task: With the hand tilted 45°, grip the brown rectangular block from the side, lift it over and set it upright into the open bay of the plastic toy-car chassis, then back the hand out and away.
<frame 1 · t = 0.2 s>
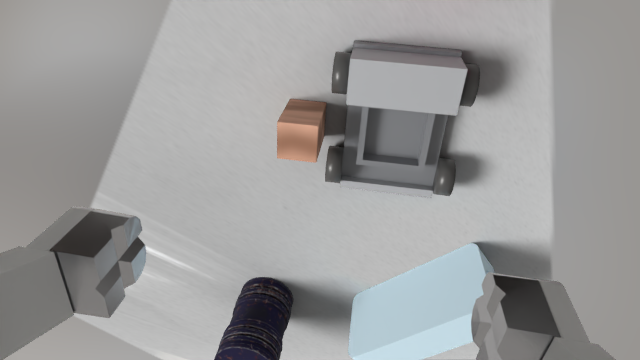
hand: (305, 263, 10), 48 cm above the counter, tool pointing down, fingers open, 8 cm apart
light blue box: (418, 278, 73), on the counter
storage jar: (267, 296, 80), on the counter
brown rectangular block: (307, 117, 60), on the counter
chassis: (395, 120, 59), on the counter
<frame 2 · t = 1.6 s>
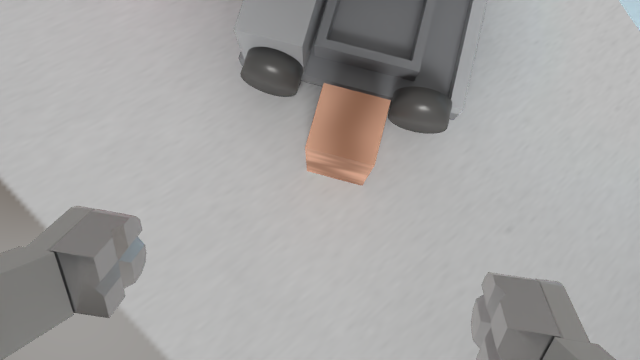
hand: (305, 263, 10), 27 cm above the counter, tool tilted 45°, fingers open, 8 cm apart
brown rectangular block: (341, 151, 39), on the counter
chassis: (363, 29, 41), on the counter
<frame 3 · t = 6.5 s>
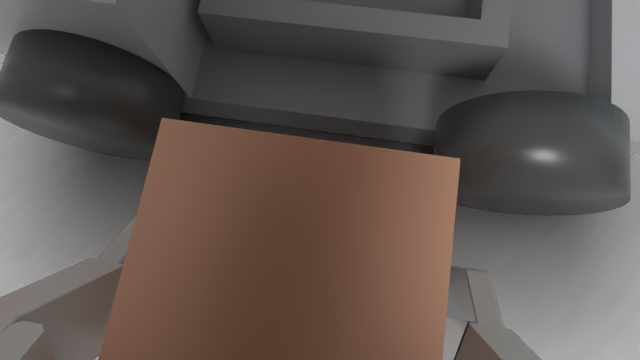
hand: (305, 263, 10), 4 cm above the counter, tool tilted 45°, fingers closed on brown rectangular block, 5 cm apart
brown rectangular block: (313, 289, 14), on the counter, touching gripper
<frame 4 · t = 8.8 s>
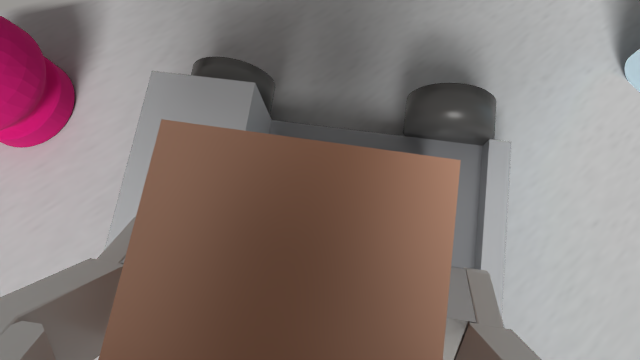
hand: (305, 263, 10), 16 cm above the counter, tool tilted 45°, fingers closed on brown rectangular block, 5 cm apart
pepper mill: (33, 106, 30), on the counter
brown rectangular block: (313, 290, 14), point 12 cm above the counter, touching gripper
chassis: (320, 236, 26), on the counter
when the fingers open (7 cm above the counter, at t = 11.3 s): brown rectangular block drops 1 cm, resting on chassis.
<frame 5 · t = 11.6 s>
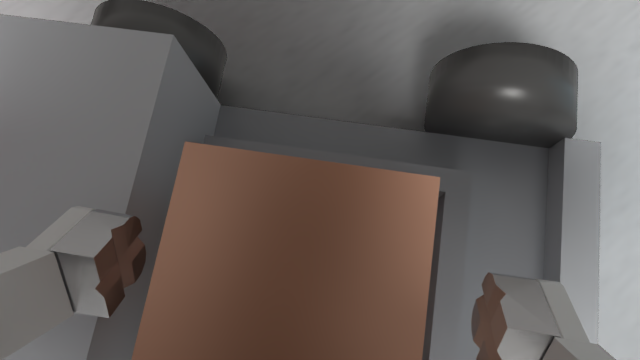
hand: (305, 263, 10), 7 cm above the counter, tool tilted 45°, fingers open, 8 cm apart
brown rectangular block: (314, 289, 16), point 1 cm above the counter, touching chassis
chassis: (294, 285, 17), on the counter
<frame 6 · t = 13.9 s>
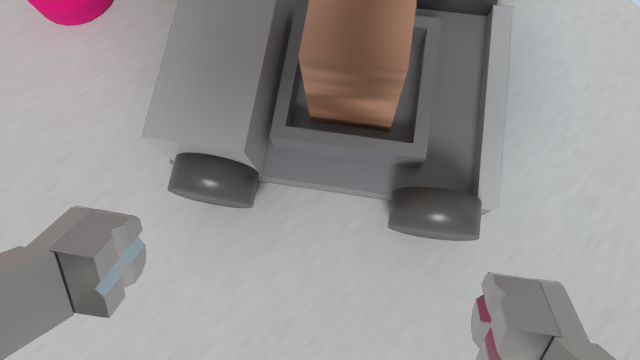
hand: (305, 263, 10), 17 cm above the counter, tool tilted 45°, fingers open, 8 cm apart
brown rectangular block: (355, 90, 28), point 1 cm above the counter, touching chassis
chassis: (341, 98, 30), on the counter
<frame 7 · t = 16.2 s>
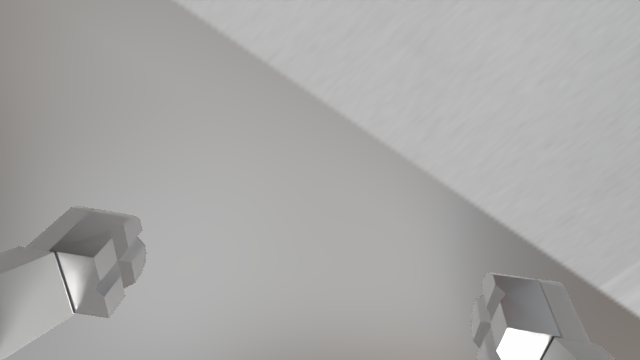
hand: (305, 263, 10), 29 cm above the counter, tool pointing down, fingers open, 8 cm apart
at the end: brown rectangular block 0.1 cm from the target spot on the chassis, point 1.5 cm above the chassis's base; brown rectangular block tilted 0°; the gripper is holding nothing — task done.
